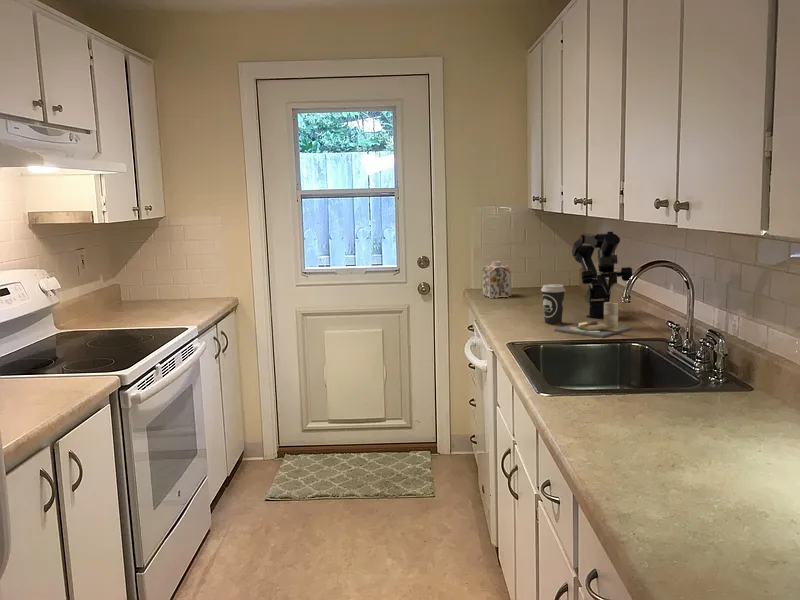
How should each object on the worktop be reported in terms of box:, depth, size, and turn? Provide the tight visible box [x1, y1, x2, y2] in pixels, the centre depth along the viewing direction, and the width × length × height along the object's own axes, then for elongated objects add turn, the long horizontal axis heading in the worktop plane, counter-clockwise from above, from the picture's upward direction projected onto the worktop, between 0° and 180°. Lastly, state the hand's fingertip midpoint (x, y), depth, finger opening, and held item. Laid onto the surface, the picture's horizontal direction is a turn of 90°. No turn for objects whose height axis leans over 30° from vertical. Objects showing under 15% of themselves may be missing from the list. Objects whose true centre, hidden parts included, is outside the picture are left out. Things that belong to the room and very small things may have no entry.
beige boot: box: [578, 301, 619, 331], centre depth 252 cm, size 15×13×10 cm
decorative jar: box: [482, 260, 512, 297], centre depth 351 cm, size 12×12×18 cm
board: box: [554, 322, 632, 338], centre depth 257 cm, size 20×20×1 cm
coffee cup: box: [540, 283, 567, 325], centre depth 274 cm, size 10×10×15 cm
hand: (608, 293), depth 262 cm, fingers closed
